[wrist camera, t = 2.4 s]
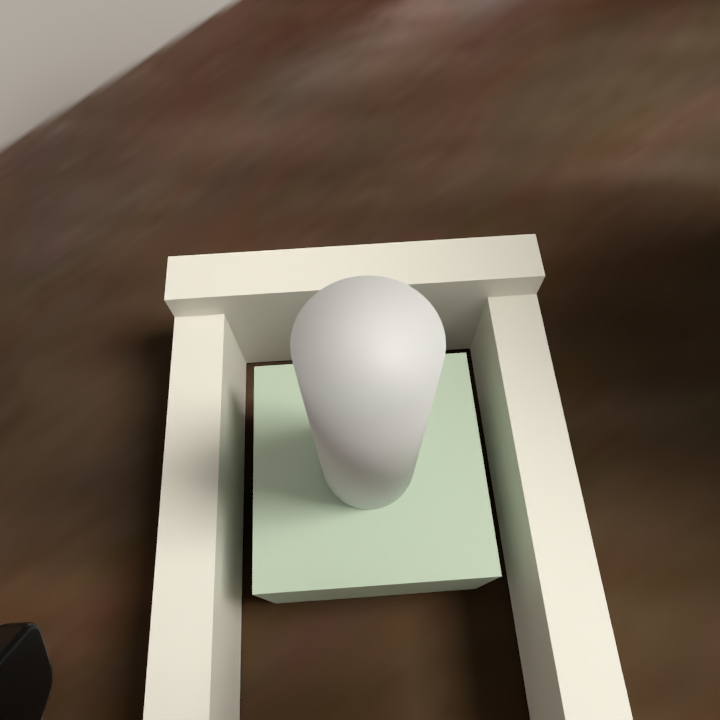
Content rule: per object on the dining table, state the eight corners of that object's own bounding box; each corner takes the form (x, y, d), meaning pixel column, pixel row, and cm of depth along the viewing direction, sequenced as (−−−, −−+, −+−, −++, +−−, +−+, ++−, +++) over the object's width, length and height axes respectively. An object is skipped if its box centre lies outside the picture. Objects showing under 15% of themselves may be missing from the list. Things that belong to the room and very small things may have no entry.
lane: (589, 739, 16) (663, 773, 12) (182, 770, 16) (118, 815, 12) (504, 309, 22) (535, 233, 18) (205, 328, 22) (168, 256, 18)
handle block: (474, 588, 18) (608, 525, 8) (275, 603, 18) (157, 558, 8) (448, 403, 20) (524, 179, 10) (274, 415, 20) (183, 199, 10)
